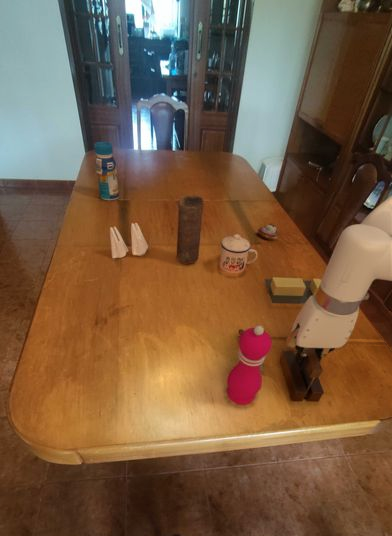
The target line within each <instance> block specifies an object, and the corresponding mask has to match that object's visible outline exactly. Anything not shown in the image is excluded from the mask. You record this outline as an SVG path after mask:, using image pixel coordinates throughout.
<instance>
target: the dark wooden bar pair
mask: <svg viewBox="0 0 392 536" xmlns="http://www.w3.org/2000/svg"><path fill="white" fill-rule="evenodd" d="M295 356H296V353H295V351H294V350H283V351H282V353H281V355H280V359H279V363H280V366H281V369H282V374H283V377H284V380H285V383H286V387H287V390H288V394H289V398H290V401H291V402H304V399H305V398H306V401H307V402H312V403H314V402H319V401H320V400H321V398H322V397H323V395H324V388H323V386H322V384H321V381H320V377H319V378H315V379H314V380H313V382H312V384H311V386H310V388H309V390H308V392H307V389H306V386H305V383H304V380H303V377H302V374H301V371H300V369H299V367H298V364H296V361H295V358H296V357H295Z"/></svg>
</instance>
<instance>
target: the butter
mask: <svg viewBox="0 0 392 536" xmlns="http://www.w3.org/2000/svg"><path fill="white" fill-rule="evenodd" d="M271 279H272V282H271V285H270V287H271V290H272V293H273V295H286V296H303V294H304V291H305V289H306V286H305V284H304V282H303V278H302V277H276V276H275V277H272V278H271Z"/></svg>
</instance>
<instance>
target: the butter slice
mask: <svg viewBox="0 0 392 536" xmlns="http://www.w3.org/2000/svg"><path fill="white" fill-rule="evenodd" d="M321 280H322V278H312V279H311V281H312V282H311V284H310V287H309V288H310V290H311V292H312V294H313V295H315V294H316V292H317V290H318V287H319V285H320V282H321Z"/></svg>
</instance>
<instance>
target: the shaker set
mask: <svg viewBox="0 0 392 536" xmlns="http://www.w3.org/2000/svg"><path fill="white" fill-rule="evenodd" d="M130 234H131V235H130V236H131V237H130V238H131V253H132V254H131V255H133V256H136V257H137V256H138V257H143V256H144V255H146V252H147V250H148V249H149V245H148V243H147V241H146V238H145V236H144V234H143V233H142V230H141V227H140V226H139V224H138V222H134V223H133V222H132V223H131V225H130ZM109 235H110V236H109V237H110V239H109V240H110V248H111V249H110V250H111V257H112V259H118V258H119V259H121V258H124V257H125V256H126V255H127V253H128V252H129V249H128V246H127V244H126V243H125V240H124V239H123V237H122V235H121V233H120V231H119V230H118V229H117V227H116V226H113V227H112V226H111V227H110V228H109Z"/></svg>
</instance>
